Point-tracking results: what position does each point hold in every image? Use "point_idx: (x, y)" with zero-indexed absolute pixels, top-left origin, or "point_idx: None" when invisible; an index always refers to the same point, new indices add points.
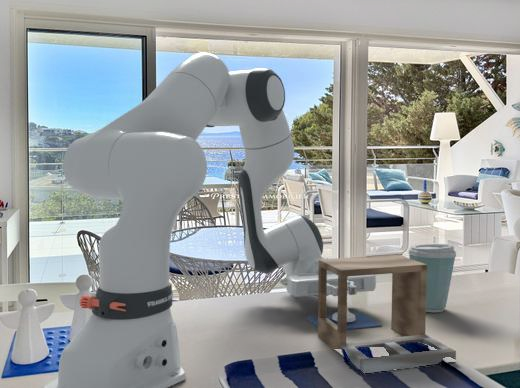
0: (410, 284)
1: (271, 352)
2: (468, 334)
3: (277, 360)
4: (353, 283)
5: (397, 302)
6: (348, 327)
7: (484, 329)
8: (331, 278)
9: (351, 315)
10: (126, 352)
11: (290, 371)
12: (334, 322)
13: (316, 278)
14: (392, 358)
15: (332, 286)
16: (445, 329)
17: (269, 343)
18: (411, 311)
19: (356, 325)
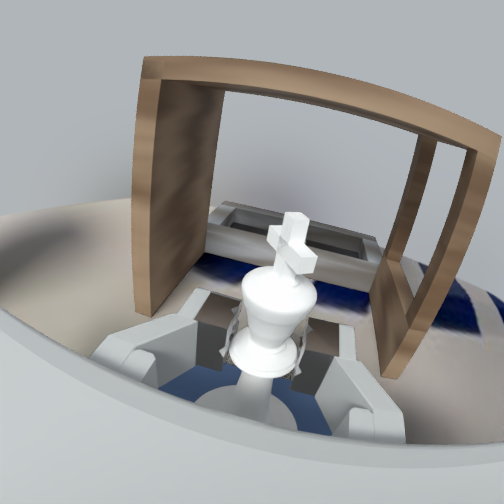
0: (202, 133)
1: (491, 348)
2: (77, 232)
3: (479, 322)
4: (148, 321)
5: (167, 218)
6: (274, 382)
7: (36, 228)
8: (301, 436)
9: (227, 392)
10: None
11: (460, 294)
12: None
13: (462, 470)
14: (330, 225)
15: (354, 352)
16: (69, 255)
17: (499, 382)
18: (198, 200)
19: (231, 381)
